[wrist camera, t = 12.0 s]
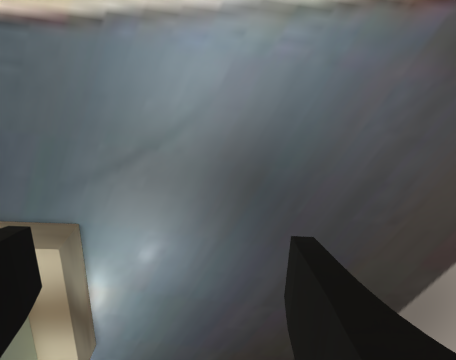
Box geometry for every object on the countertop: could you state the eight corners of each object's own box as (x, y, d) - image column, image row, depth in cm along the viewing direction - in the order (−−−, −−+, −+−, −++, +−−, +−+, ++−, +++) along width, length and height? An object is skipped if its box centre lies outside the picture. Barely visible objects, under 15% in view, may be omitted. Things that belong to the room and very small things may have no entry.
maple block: (98, 339, 25) (81, 379, 22) (-37, 334, 25) (-71, 373, 22) (81, 220, 21) (58, 249, 19) (-76, 214, 21) (-122, 243, 19)
